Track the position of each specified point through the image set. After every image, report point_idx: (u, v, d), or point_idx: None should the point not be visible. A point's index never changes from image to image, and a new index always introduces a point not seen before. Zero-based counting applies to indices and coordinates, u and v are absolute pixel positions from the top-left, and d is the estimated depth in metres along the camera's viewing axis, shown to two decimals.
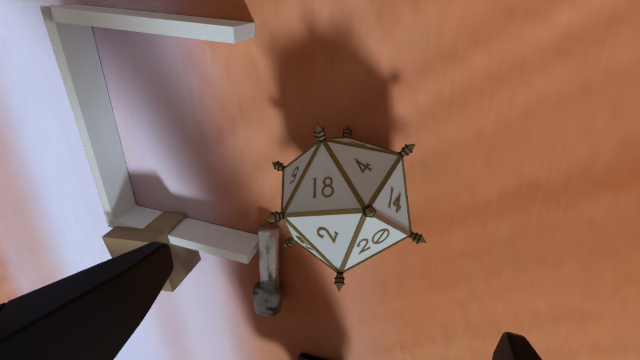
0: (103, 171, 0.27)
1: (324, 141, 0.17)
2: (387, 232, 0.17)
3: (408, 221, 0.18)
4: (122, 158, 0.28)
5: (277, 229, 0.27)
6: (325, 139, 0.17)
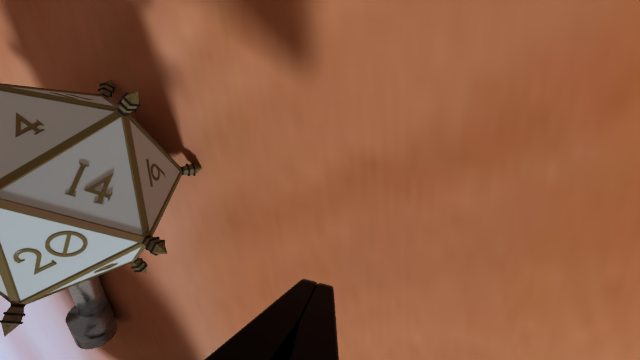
0: None
1: None
2: (81, 237, 0.10)
3: (139, 218, 0.11)
4: None
5: None
6: None
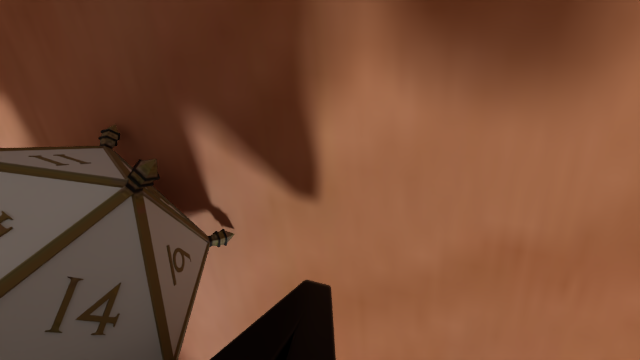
0: None
1: None
2: None
3: (159, 343, 0.08)
4: None
5: None
6: None
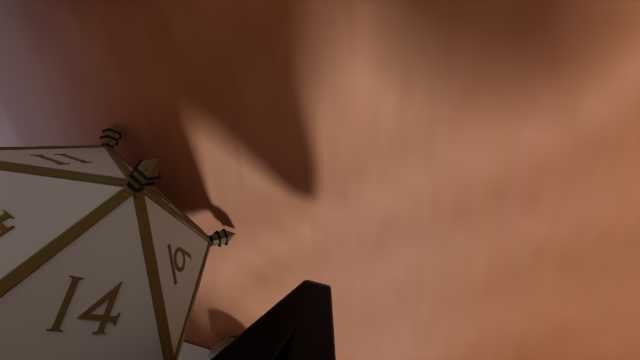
0: None
1: None
2: None
3: (160, 342, 0.08)
4: None
5: None
6: None
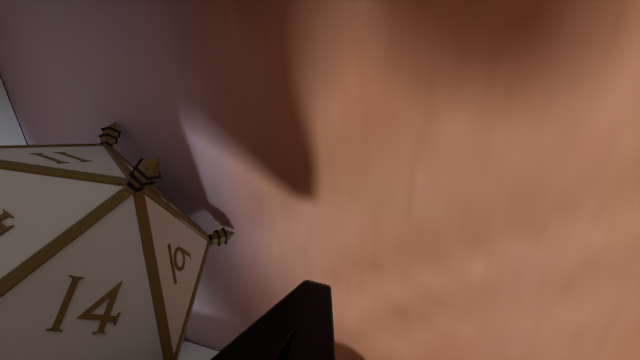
0: None
1: None
2: None
3: (160, 341, 0.08)
4: None
5: None
6: None
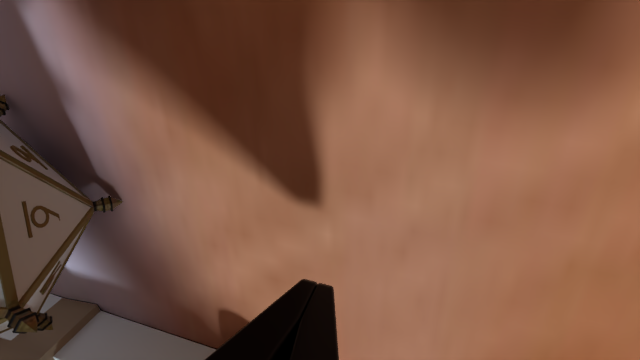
0: None
1: None
2: None
3: (1, 285, 0.08)
4: None
5: None
6: None
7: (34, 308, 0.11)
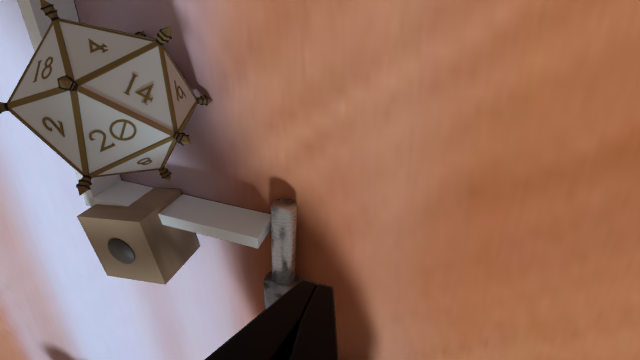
0: None
1: (55, 20, 0.15)
2: (133, 126, 0.15)
3: (171, 118, 0.16)
4: None
5: (295, 205, 0.21)
6: (57, 18, 0.15)
7: (168, 155, 0.18)
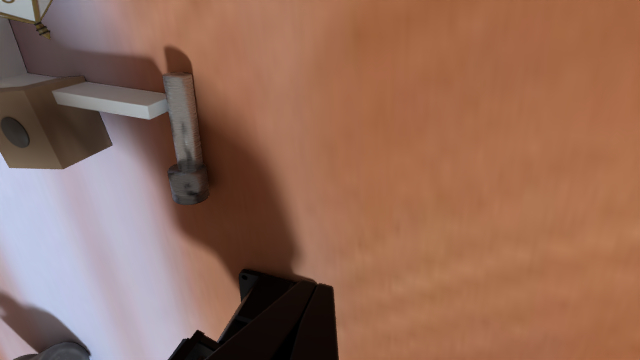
0: None
1: None
2: None
3: None
4: None
5: (189, 75, 0.20)
6: None
7: (38, 2, 0.18)
